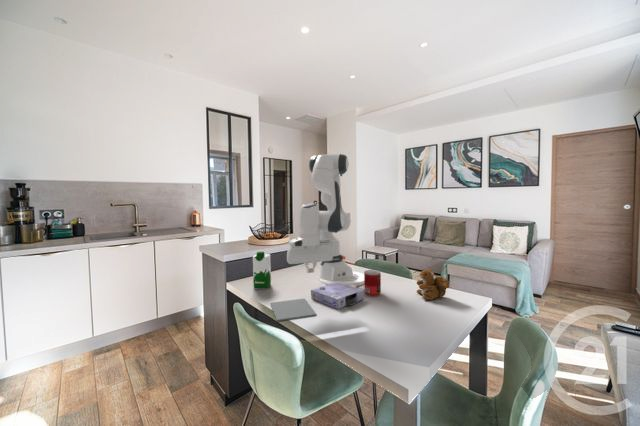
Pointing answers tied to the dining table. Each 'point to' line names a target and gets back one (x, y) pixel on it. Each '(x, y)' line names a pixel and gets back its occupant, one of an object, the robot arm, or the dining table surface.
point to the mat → (292, 309)
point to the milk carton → (261, 270)
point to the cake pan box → (337, 295)
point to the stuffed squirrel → (431, 285)
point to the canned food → (372, 282)
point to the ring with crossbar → (348, 283)
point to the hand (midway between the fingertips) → (310, 272)
